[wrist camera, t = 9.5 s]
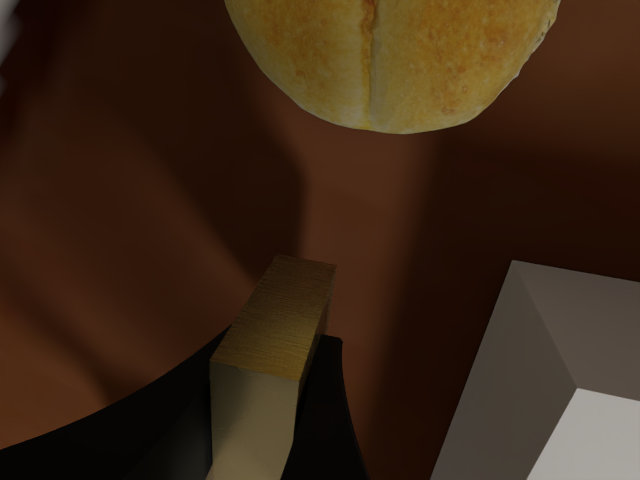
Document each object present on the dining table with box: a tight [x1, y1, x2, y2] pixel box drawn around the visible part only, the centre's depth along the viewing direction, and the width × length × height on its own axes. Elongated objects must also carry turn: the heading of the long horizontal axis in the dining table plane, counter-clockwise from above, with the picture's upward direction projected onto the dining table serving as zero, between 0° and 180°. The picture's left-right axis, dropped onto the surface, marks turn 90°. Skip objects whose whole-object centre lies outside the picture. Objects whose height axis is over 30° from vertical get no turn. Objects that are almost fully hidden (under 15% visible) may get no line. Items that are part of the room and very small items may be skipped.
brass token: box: [209, 254, 337, 480], centre depth 12 cm, size 5×2×5 cm, turn 174°
